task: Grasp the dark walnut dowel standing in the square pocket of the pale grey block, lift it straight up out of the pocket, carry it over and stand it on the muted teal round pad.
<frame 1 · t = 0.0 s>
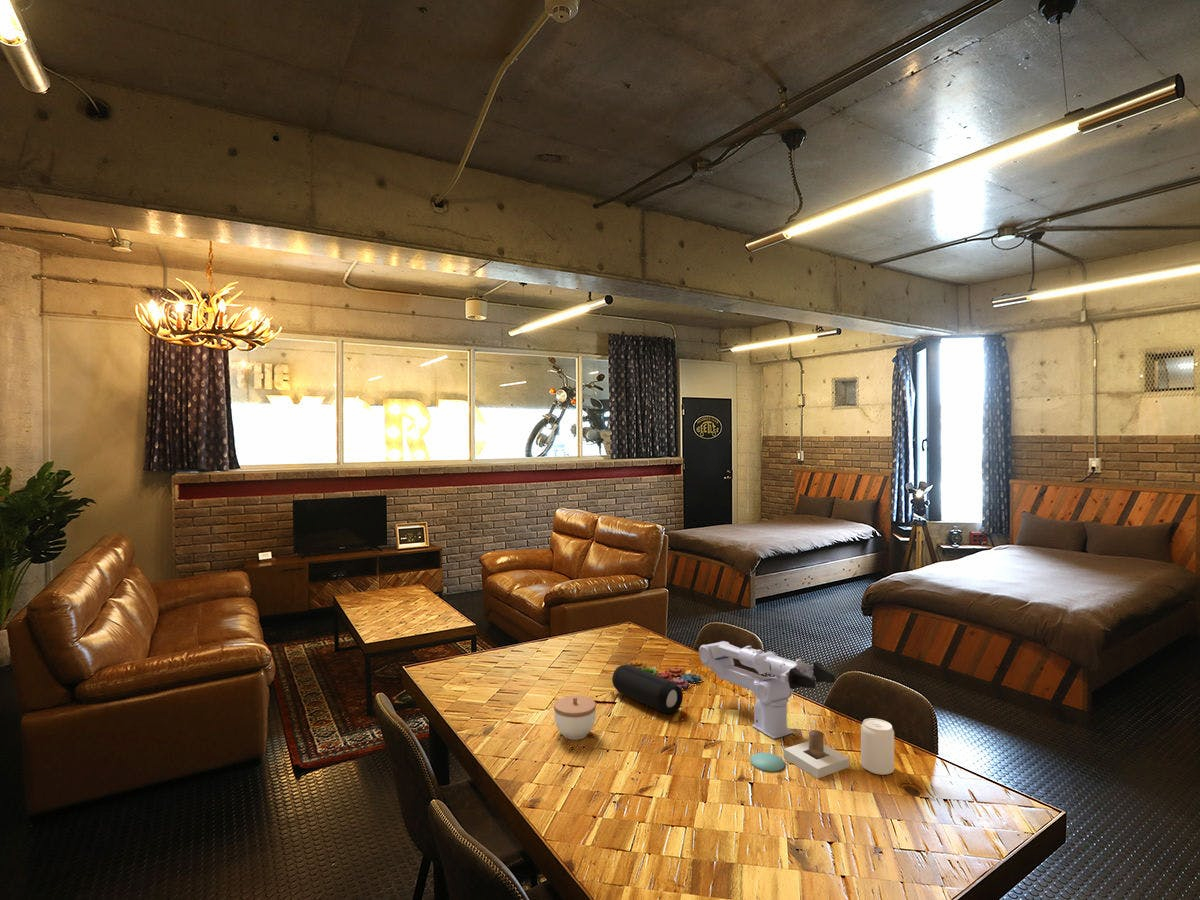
hand: (824, 681, 169), 22 cm above the table, tool horizontal, fingers open, 7 cm apart
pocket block: (816, 762, 168), on the table
portable speaker: (646, 703, 207), on the table
teal pad: (767, 763, 168), on the table
lidded bowl: (574, 734, 184), on the table
gear puzzle: (660, 676, 231), on the table
walnut dowel: (816, 747, 168), in the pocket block
beverage can: (877, 769, 165), on the table
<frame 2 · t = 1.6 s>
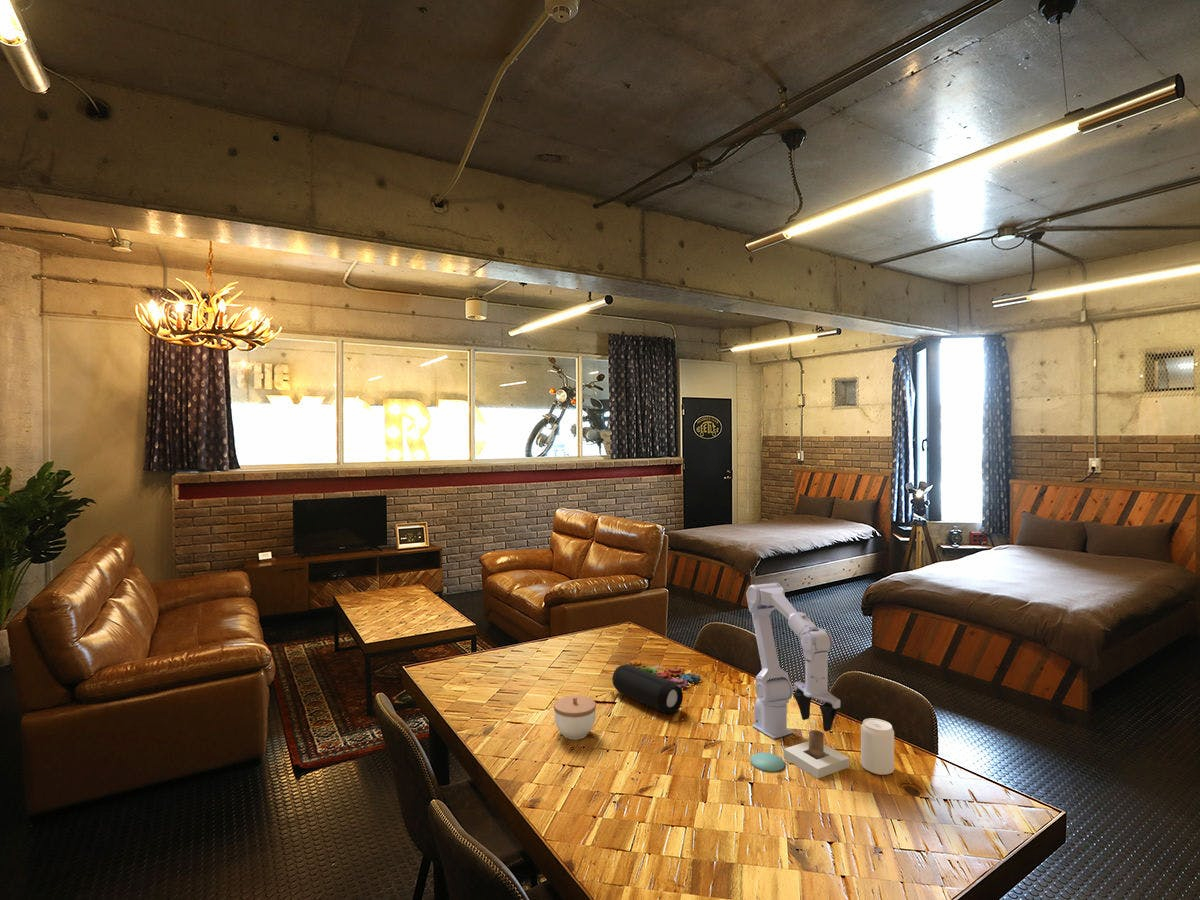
hand: (816, 724, 168), 10 cm above the table, tool pointing down, fingers open, 7 cm apart
nothing on the table moved.
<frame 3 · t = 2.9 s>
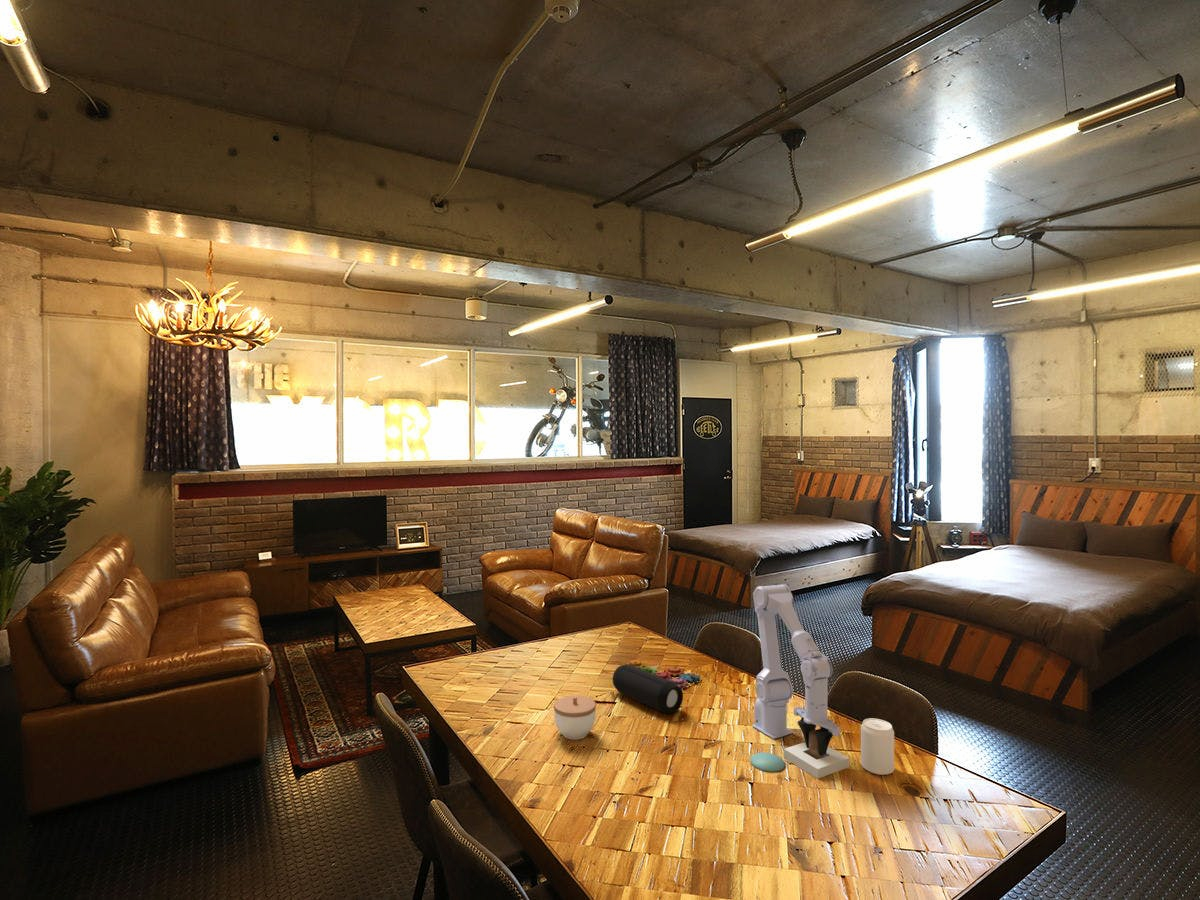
hand: (816, 750, 168), 3 cm above the table, tool pointing down, fingers closed on walnut dowel, 4 cm apart
walnut dowel: (816, 747, 168), in the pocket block, touching gripper
everything else where it was.
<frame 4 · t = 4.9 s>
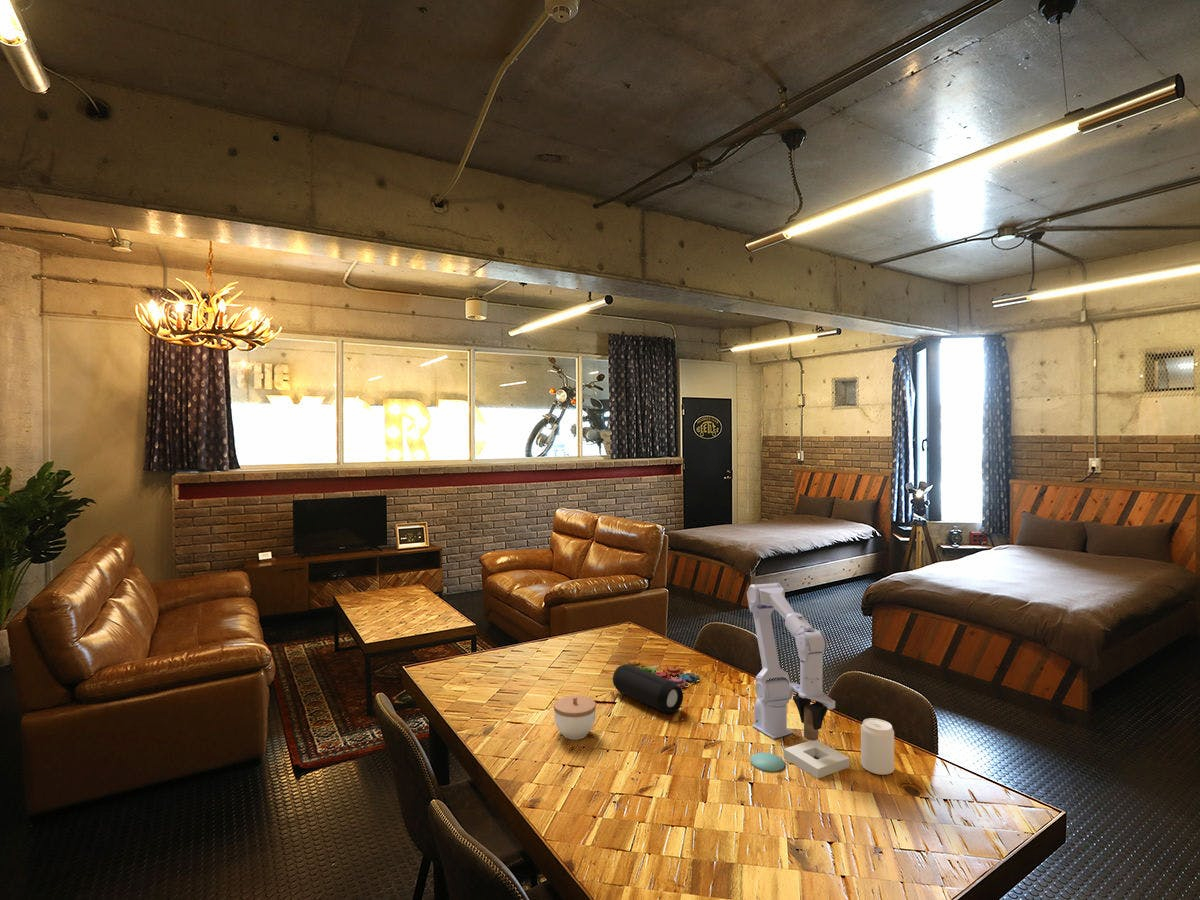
hand: (811, 725, 168), 10 cm above the table, tool pointing down, fingers closed on walnut dowel, 4 cm apart
walnut dowel: (811, 722, 168), point 11 cm above the table, touching gripper
everything else where it was.
when the fingers open (5 cm above the table, at t = 7.0 s): walnut dowel stays where it is, resting on teal pad.
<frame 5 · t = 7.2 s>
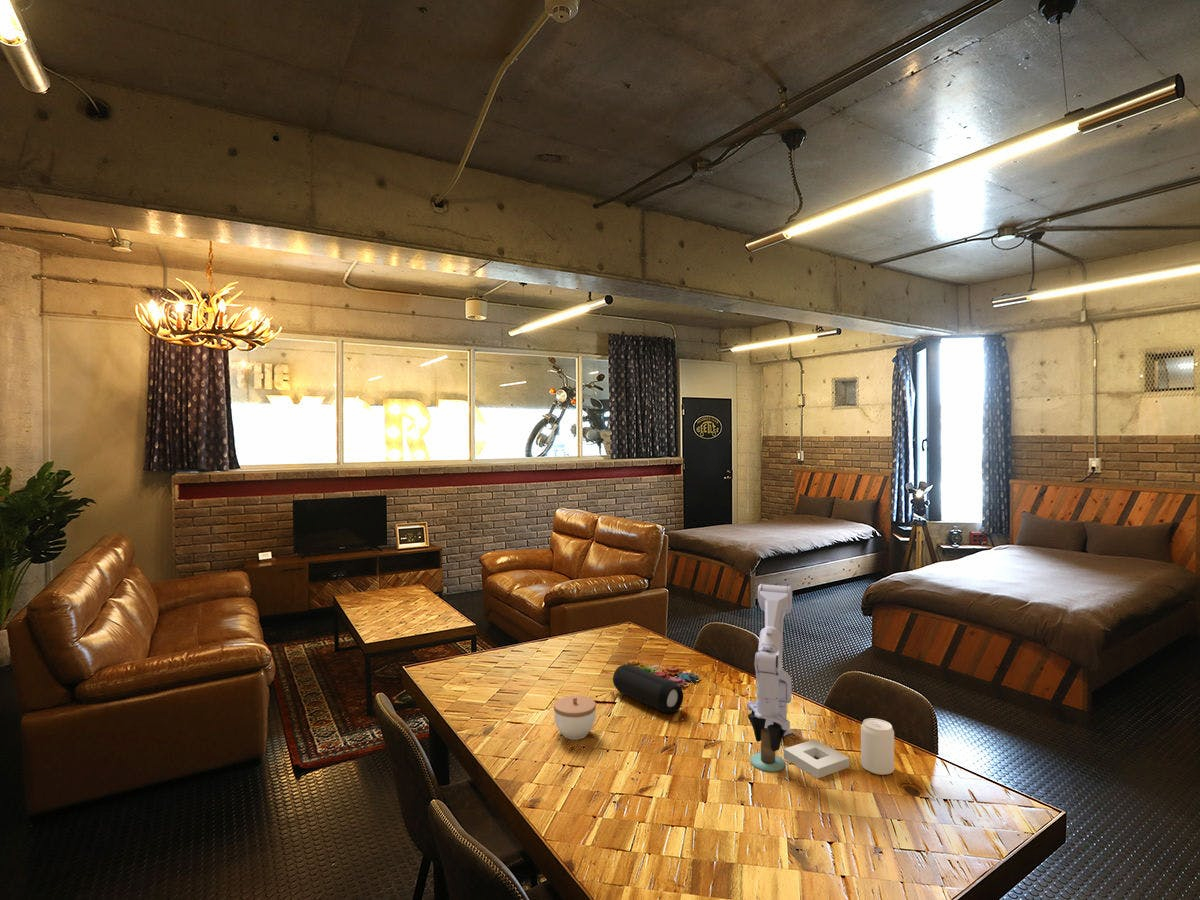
hand: (767, 745, 167), 5 cm above the table, tool pointing down, fingers open, 5 cm apart
walnut dowel: (768, 745, 168), on the teal pad, point 5 cm above the table
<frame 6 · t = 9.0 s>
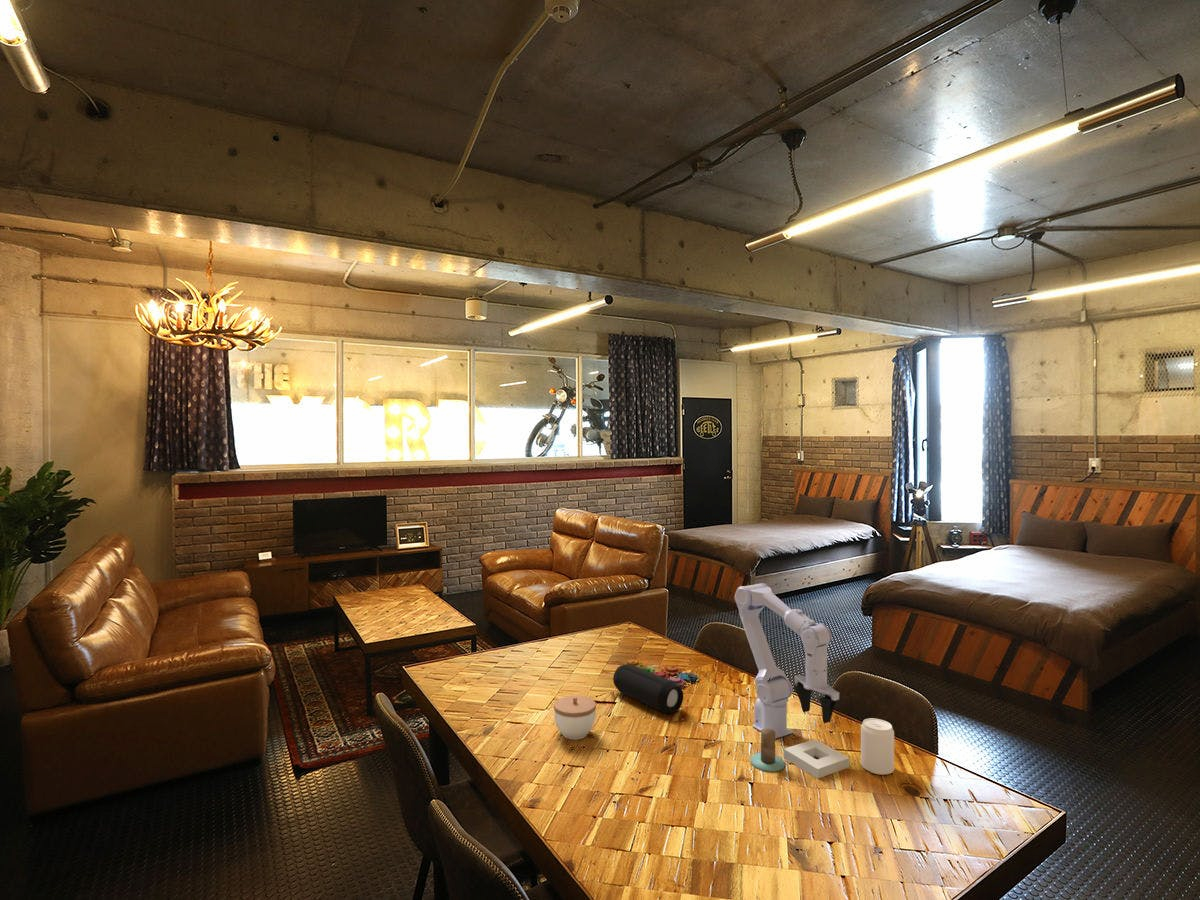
hand: (816, 716, 173), 10 cm above the table, tool pointing down, fingers open, 7 cm apart
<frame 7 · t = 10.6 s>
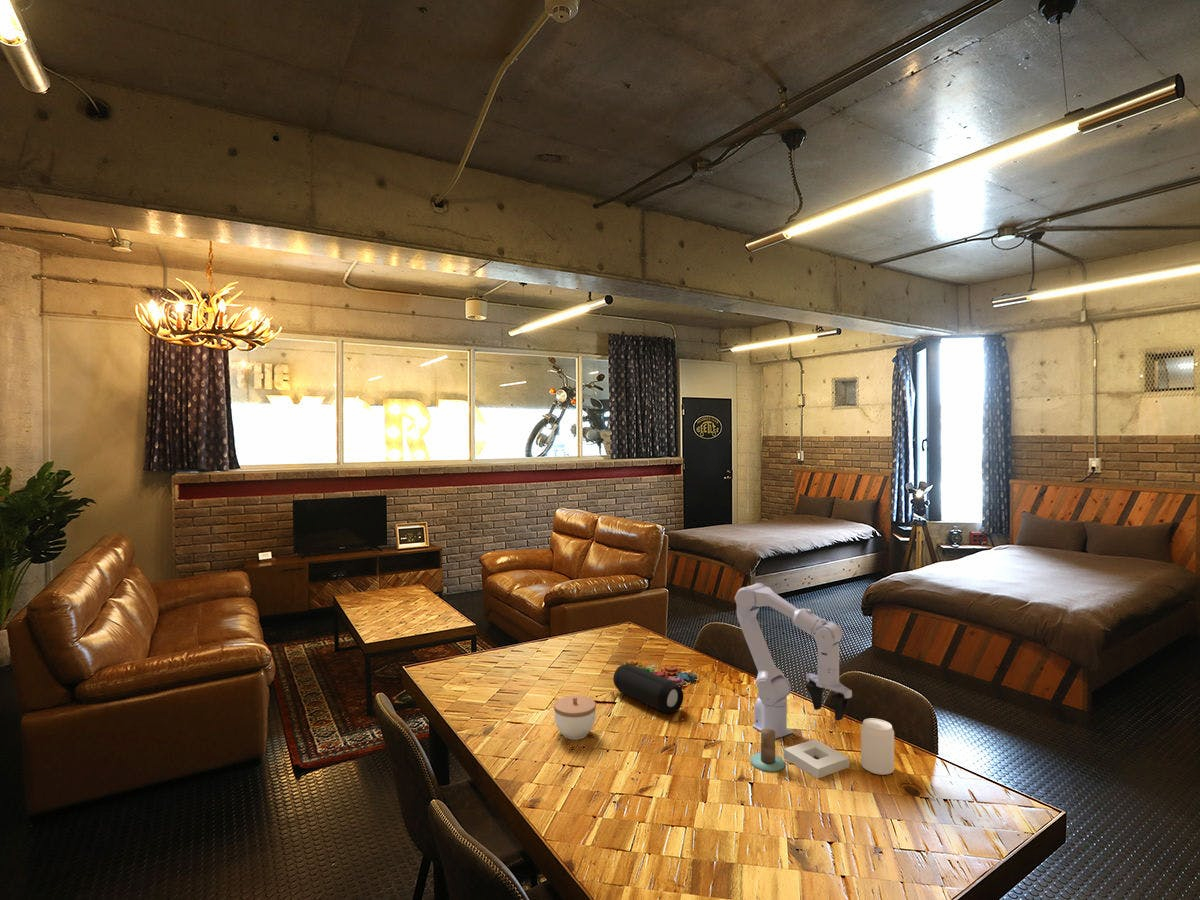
hand: (828, 714, 174), 10 cm above the table, tool pointing down, fingers open, 7 cm apart
at the end: walnut dowel 0.2 cm off-centre on the teal pad, point 4.6 cm above the teal pad's base; walnut dowel tilted 0°; walnut dowel touching teal pad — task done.
